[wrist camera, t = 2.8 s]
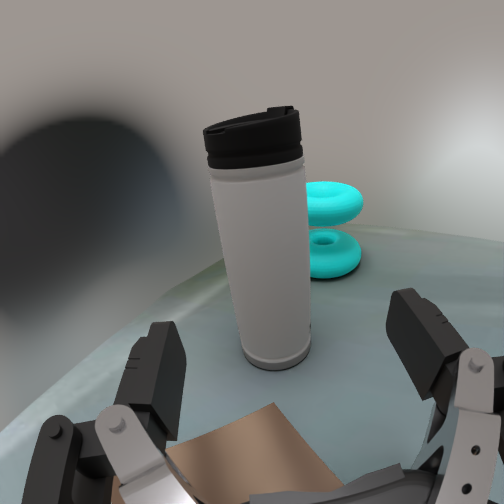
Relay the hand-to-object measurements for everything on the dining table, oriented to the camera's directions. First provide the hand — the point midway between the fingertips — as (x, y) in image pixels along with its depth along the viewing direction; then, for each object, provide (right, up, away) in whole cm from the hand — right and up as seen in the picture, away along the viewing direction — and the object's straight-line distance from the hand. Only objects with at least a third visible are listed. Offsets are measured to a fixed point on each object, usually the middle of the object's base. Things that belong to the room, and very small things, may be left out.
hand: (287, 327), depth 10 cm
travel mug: (+1, -6, +16) cm, 17 cm away
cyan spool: (+8, +1, +28) cm, 29 cm away
